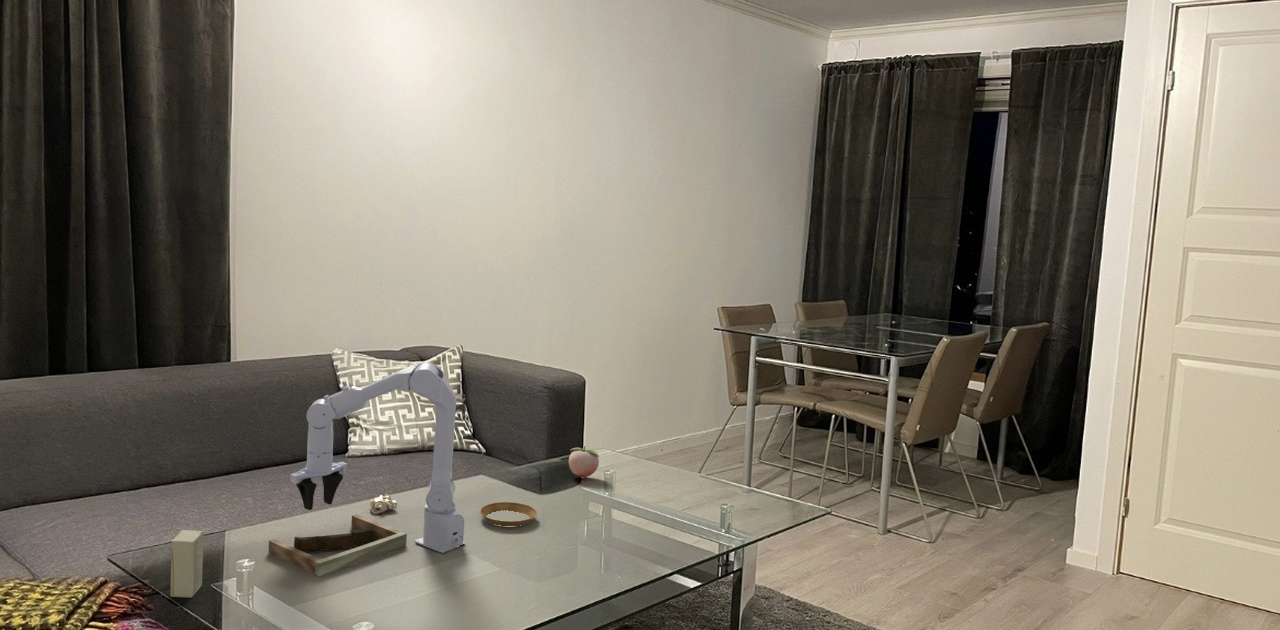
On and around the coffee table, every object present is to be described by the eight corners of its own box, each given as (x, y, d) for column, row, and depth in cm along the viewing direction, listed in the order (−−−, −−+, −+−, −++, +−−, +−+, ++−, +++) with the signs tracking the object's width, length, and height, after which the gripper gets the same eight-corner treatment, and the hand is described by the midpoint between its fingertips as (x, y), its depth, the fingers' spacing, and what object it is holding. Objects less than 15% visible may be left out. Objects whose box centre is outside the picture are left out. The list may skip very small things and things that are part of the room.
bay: (406, 545, 236) (406, 533, 235) (319, 576, 215) (319, 563, 215) (356, 525, 246) (356, 514, 245) (268, 553, 225) (268, 540, 225)
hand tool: (294, 557, 225) (294, 538, 224) (293, 550, 228) (293, 531, 228) (379, 551, 232) (380, 532, 231) (377, 544, 236) (378, 526, 235)
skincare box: (181, 584, 206) (182, 528, 204) (203, 585, 206) (204, 529, 205) (169, 597, 200) (170, 540, 198) (192, 598, 200) (193, 541, 198)
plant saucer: (468, 523, 254) (469, 513, 254) (497, 507, 268) (498, 497, 267) (518, 535, 249) (519, 525, 248) (546, 518, 262) (546, 509, 262)
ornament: (392, 516, 254) (392, 503, 254) (365, 514, 254) (366, 501, 254) (400, 506, 262) (401, 493, 262) (374, 504, 262) (375, 490, 262)
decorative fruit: (563, 480, 294) (565, 448, 292) (570, 472, 302) (572, 440, 300) (594, 484, 292) (596, 452, 291) (600, 476, 300) (602, 444, 299)
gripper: (334, 441, 240) (332, 494, 242) (282, 452, 228) (281, 508, 230) (353, 447, 236) (351, 502, 238) (302, 459, 224) (300, 516, 226)
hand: (318, 506), depth 234 cm, fingers open, 5 cm apart
